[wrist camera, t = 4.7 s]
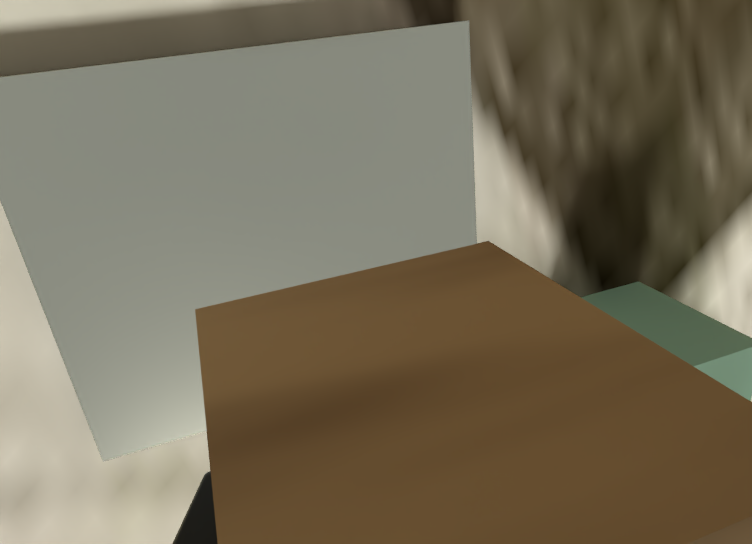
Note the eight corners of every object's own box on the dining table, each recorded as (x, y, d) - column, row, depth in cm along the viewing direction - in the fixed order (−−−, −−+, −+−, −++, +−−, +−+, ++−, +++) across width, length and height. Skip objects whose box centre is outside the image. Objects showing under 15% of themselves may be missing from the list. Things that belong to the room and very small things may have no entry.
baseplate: (468, 339, 23) (480, 351, 22) (106, 442, 19) (102, 461, 19) (454, 21, 18) (469, 20, 17) (-33, 80, 15) (-47, 83, 14)
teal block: (628, 374, 27) (739, 453, 22) (539, 403, 26) (634, 494, 21) (637, 280, 25) (762, 343, 20) (541, 307, 24) (646, 382, 19)
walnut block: (493, 462, 12) (754, 796, 7) (257, 544, 10) (345, 1044, 5) (488, 241, 10) (861, 468, 4) (195, 308, 8) (235, 739, 3)
